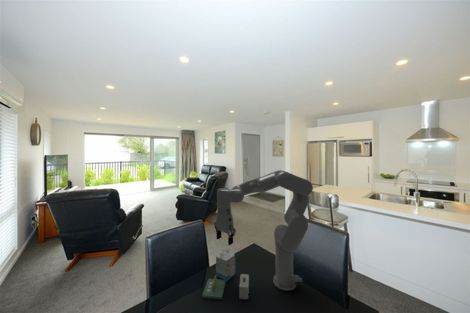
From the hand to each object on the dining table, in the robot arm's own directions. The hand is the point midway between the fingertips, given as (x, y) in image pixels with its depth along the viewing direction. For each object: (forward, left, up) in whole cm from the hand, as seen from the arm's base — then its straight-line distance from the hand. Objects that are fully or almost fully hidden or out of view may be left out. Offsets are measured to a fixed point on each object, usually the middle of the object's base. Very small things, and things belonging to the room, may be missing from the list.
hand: (224, 241), depth 95 cm
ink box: (+1, -8, -24) cm, 25 cm away
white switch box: (-11, +4, -24) cm, 27 cm away
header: (+5, +4, -24) cm, 25 cm away
